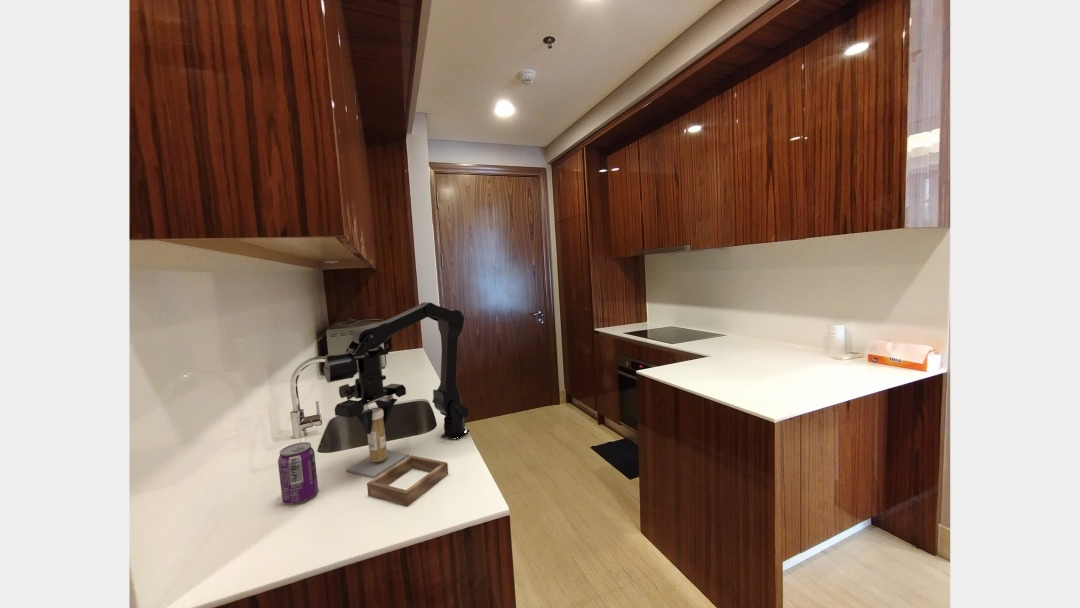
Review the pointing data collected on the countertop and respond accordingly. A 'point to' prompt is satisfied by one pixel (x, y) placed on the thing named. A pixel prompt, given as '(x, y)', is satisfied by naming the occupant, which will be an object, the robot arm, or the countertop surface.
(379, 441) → the sprinkles bottle
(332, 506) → the countertop surface
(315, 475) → the beverage can
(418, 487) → the wooden frame
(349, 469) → the mat
